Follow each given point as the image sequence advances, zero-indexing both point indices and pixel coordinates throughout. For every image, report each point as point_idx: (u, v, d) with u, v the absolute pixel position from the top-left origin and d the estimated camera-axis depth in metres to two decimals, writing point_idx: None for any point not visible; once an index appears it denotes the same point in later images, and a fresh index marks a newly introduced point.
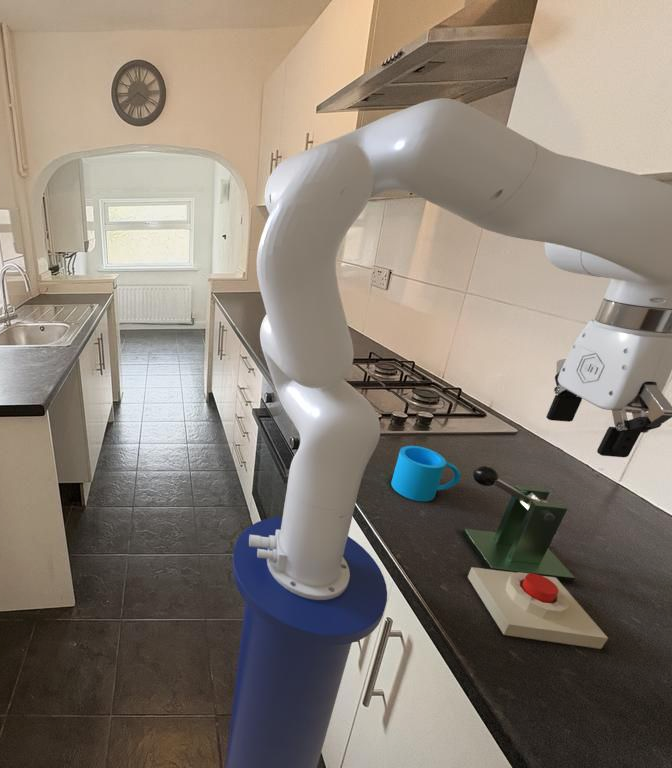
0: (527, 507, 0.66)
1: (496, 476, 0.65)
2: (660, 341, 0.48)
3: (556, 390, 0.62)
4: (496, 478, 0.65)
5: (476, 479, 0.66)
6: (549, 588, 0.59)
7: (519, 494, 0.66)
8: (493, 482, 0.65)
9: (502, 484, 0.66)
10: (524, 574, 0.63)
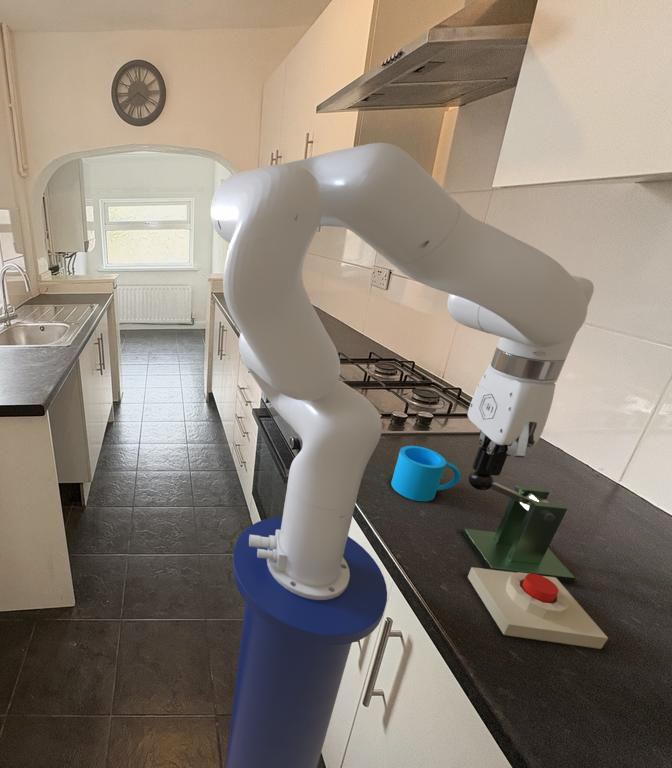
0: (527, 508, 0.66)
1: (491, 480, 0.65)
2: (537, 388, 0.55)
3: (480, 443, 0.65)
4: (491, 482, 0.65)
5: (472, 484, 0.67)
6: (549, 588, 0.59)
7: (517, 496, 0.66)
8: (488, 486, 0.65)
9: (498, 487, 0.66)
10: (524, 574, 0.63)
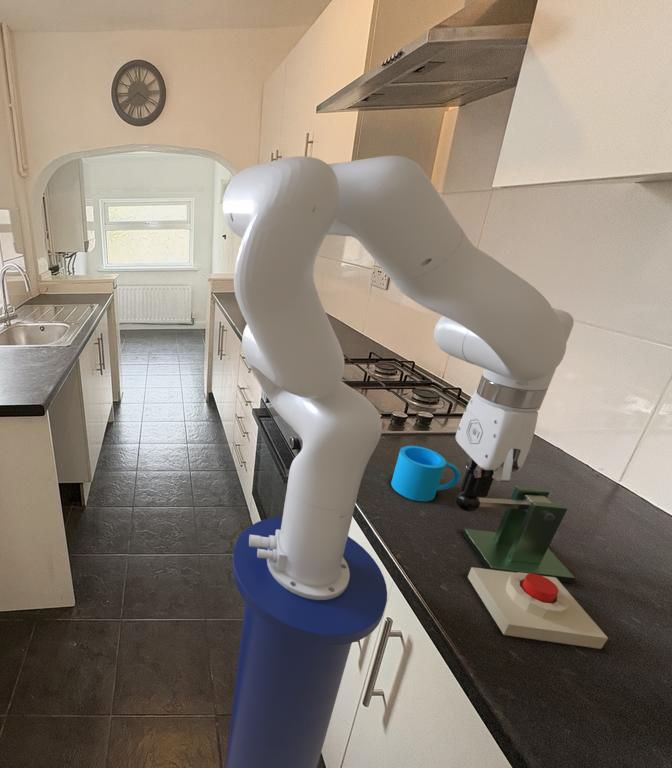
0: None
1: (474, 501, 0.67)
2: (520, 416, 0.57)
3: (468, 466, 0.67)
4: (476, 502, 0.67)
5: (461, 508, 0.69)
6: (549, 588, 0.59)
7: (510, 504, 0.67)
8: (475, 507, 0.67)
9: (487, 503, 0.67)
10: (524, 574, 0.63)
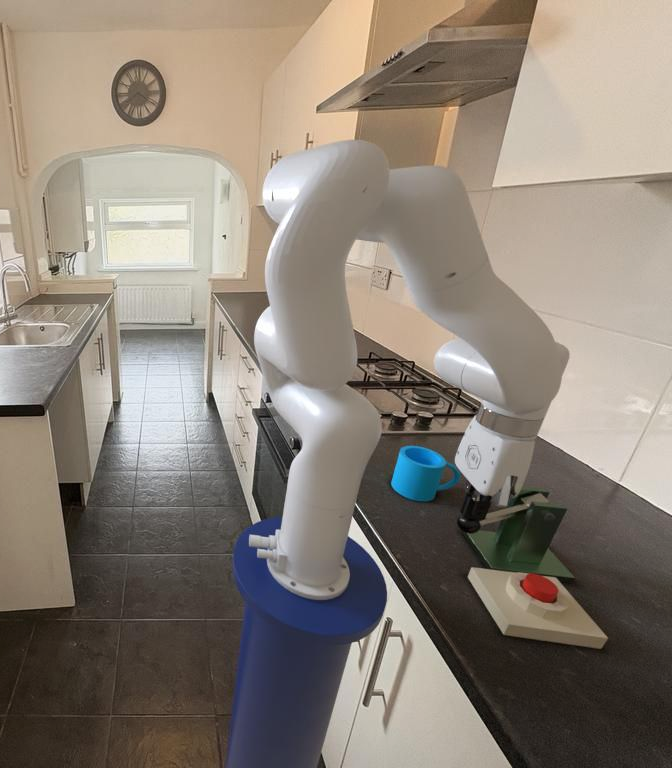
0: None
1: (472, 523, 0.68)
2: (517, 444, 0.59)
3: (467, 489, 0.69)
4: (474, 524, 0.68)
5: None
6: (549, 588, 0.59)
7: (509, 514, 0.67)
8: (476, 528, 0.68)
9: (487, 520, 0.68)
10: (524, 574, 0.63)
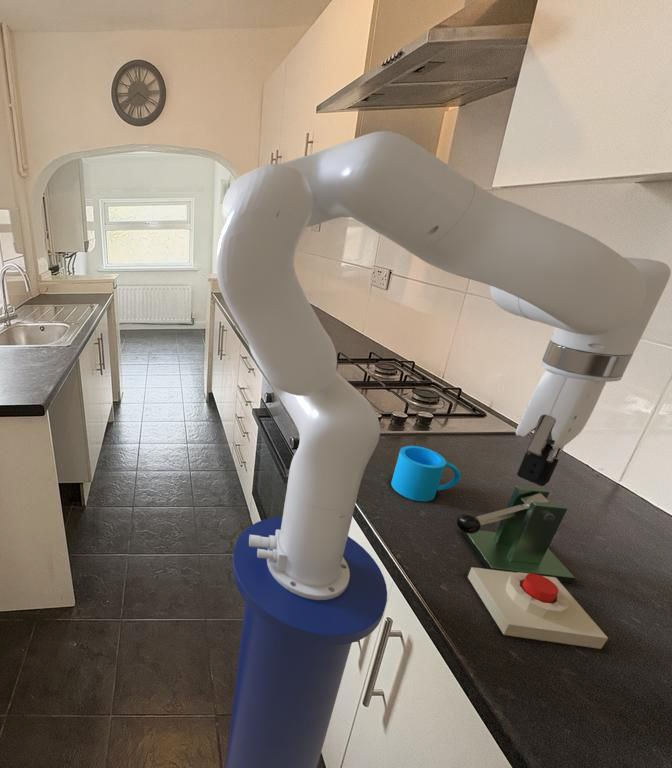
0: None
1: (472, 523, 0.68)
2: (558, 378, 0.51)
3: None
4: (474, 524, 0.68)
5: None
6: (549, 588, 0.59)
7: (509, 514, 0.67)
8: (476, 528, 0.68)
9: (487, 520, 0.68)
10: (524, 574, 0.63)
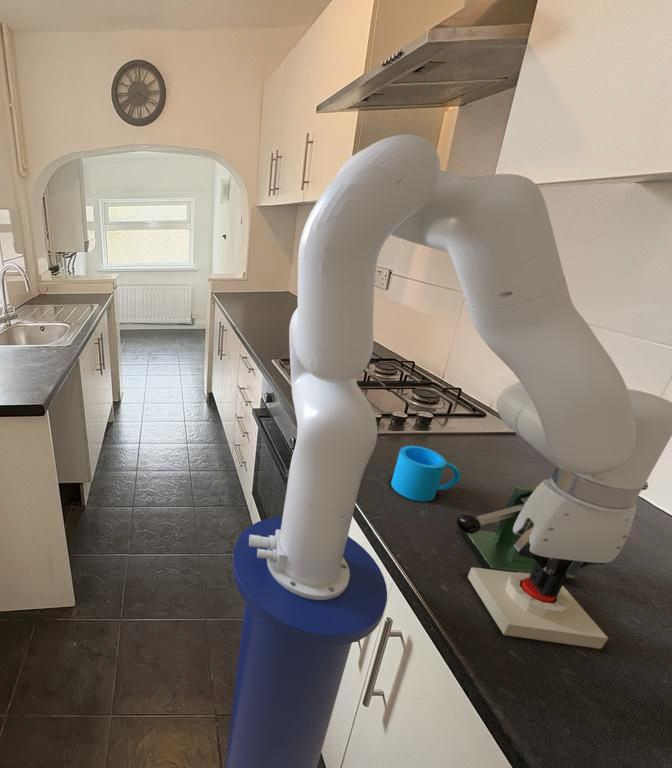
0: None
1: (472, 523, 0.68)
2: (545, 488, 0.54)
3: None
4: (474, 524, 0.68)
5: None
6: None
7: (509, 514, 0.67)
8: (476, 528, 0.68)
9: (487, 520, 0.68)
10: (524, 574, 0.63)
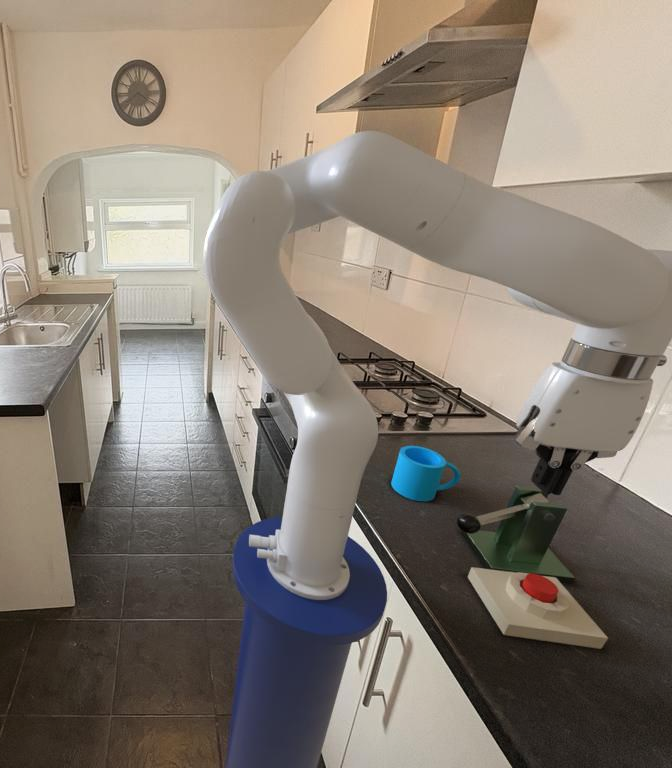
0: None
1: (472, 523, 0.68)
2: (554, 368, 0.50)
3: None
4: (474, 524, 0.68)
5: None
6: (549, 588, 0.59)
7: (509, 514, 0.67)
8: (476, 528, 0.68)
9: (487, 520, 0.68)
10: (524, 574, 0.63)
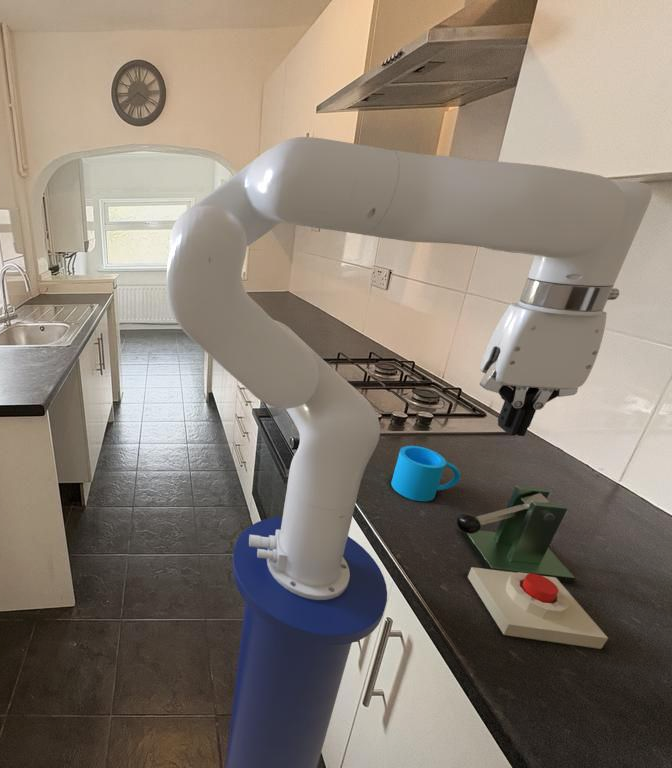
0: None
1: (472, 523, 0.68)
2: (512, 308, 0.51)
3: None
4: (474, 524, 0.68)
5: None
6: (549, 588, 0.59)
7: (509, 514, 0.67)
8: (476, 528, 0.68)
9: (487, 520, 0.68)
10: (524, 574, 0.63)
